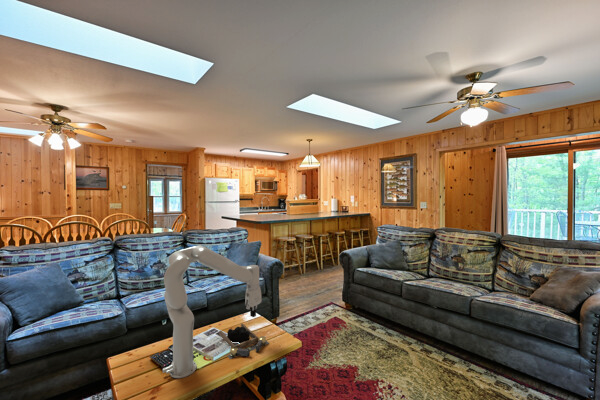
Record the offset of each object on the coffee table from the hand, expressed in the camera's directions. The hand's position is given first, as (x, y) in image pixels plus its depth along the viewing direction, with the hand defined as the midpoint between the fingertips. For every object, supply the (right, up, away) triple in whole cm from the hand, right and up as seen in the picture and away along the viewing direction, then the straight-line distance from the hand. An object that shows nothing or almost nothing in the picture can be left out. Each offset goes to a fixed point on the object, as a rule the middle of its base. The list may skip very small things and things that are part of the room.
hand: (253, 316), depth 159 cm
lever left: (-5, -17, -12) cm, 21 cm away
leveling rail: (-1, -17, -6) cm, 18 cm away
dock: (-10, -17, +6) cm, 20 cm away
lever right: (+5, -16, -3) cm, 17 cm away
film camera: (-9, -17, +4) cm, 20 cm away
